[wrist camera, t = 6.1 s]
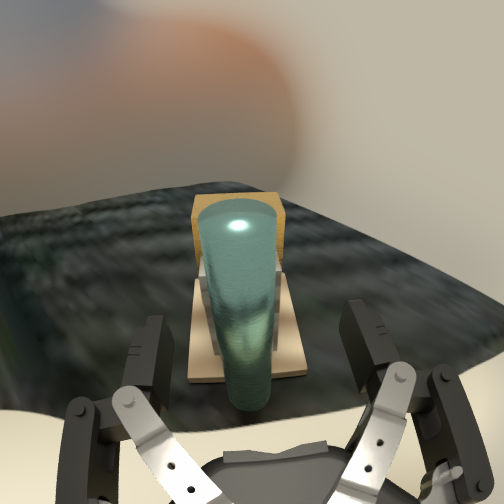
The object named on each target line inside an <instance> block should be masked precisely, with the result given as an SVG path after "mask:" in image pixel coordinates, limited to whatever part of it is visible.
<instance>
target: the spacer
mask: <svg viewBox="0 0 504 504" xmlns="http://www.w3.org/2000/svg"><path fill="white" fill-rule="evenodd" d="M236 198H246V199H254V200H258V201H262V202H264V203H267V204H268V205H270V206H271V207H273V208H274V210H275V211H276V213H277V236H276V251H277V254H278V258H279V262H280V266H281V267H282V255H283V242H284V228H285V211H284V209H283V206H282V203H281V201H280V198H279V195H278V193H277V192H257V193H227V194H206V195H196V196H195V200H194V205H193V210H192V215H191V222H192V231H193V239H194V247H195V254H196V262H197V269H198V276H199V268H200V258H201V256H203V255H202V248H201V241H200V234H199V227H198V216H199V214H200V212H201V211H202V210H203V209H205V208H206V207H207V206H209V205H211V204H213V203H216V202H219V201H223V200H228V199H236ZM199 283H200V281H199ZM200 290H201V286H200ZM201 297H202V292H201ZM202 303H203V306H204V302H203V297H202Z"/></svg>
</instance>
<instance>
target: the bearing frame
mask: <svg viewBox="0 0 504 504" xmlns="http://www.w3.org/2000/svg"><path fill="white" fill-rule="evenodd" d="M199 281H200V283H199ZM200 286H201V290H200ZM201 292H202V297H203V302H204V306H203V303H202V297H201ZM306 374H307V365H306V360H305V356H304V352H303V347H302V343H301V339H300V335H299V331H298V326H297V322H296V318H295V314H294V310H293V306H292V302H291V298H290V293H289V289H288V285H287V281H286V277H285V273H282V270H281V266H280V262H279V258H278V254H277V251H276V274H275V304H274V330H273V353H272V374H271V379H272V378H282V377H290V376H299V375H306ZM188 380H189V382H190V383H213V382H225V377H224V373H223V368H222V363H221V358H220V353H219V347H218V342H217V337H216V332H215V326H214V321H213V315H212V309H211V304H210V298H209V292H208V286H207V280H206V274H205V268H204V261H203V256H201V258H200V268H199V279H195V289H194V299H193V310H192V322H191V335H190V348H189V364H188Z"/></svg>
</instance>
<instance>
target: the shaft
mask: <svg viewBox="0 0 504 504" xmlns="http://www.w3.org/2000/svg"><path fill="white" fill-rule="evenodd" d="M198 227H199V234H200V241H201V248H202V255H203V261H204V268H205V274H206V280H207V286H208V292H209V298H210V304H211V309H212V315H213V321H214V326H215V332H216V337H217V342H218V347H219V353H220V358H221V363H222V368H223V373H224V377H225V382H226V387H227V392H228V396H229V400H230V402H231V403H232V404H233V405H234V406H235V407H236V408H238V409H240V410H243V411H255V410H258V409H260V408H262V407H263V406H265V405H266V404H267V402H268V401H269V398H270V393H271V374H272V353H273V330H274V304H275V274H276V236H277V213H276V211H275V210H274V208H273V207H271V206H270V205H268V204H267V203H264V202H262V201H258V200H254V199H246V198H236V199H228V200H223V201H219V202H216V203H213V204H211V205H209V206H207V207H206V208H205V209H203V210H202V211H201V212H200V214H199V216H198Z"/></svg>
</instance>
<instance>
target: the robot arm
mask: <svg viewBox="0 0 504 504" xmlns="http://www.w3.org/2000/svg"><path fill="white" fill-rule="evenodd" d="M339 332H340V336H341V339H342V342H343V345H344V348H345V351H346V354H347V356H348V359H349V362H350V365H351V368H352V371H353V374H354V378H355V381H356V384H357V387H358V390H359V393H363V392H368V395H369V398H370V399H369V401H368V403H367V405H366V408H365V410H364V412H363V415H362V417H361V419H360V421H359V423H358V425H357V428H356V430H355V432H354V434H353V435H352V437H351V439H350V440H349V442H348V444H347V446H346V447H345V449H343V448H339V447H336V446H329V445H327V442H326V440H325V441H321V442H314V443H308V444H302V445H299V446H297V447H294V448H291V449H289V450H286V451H283V452H281V453H277V454H272V453H264V452H257V451H251V450H245V451H224V452H223V457H219V458H217V459H214V460H212V461H210V462H208V463H206V464H205V465H204V466H202V467H201V468H199V467H198V465H197V464H196V463H195V462H194V461H193V460H192V459H191V457H190V456H189V455H188V454H187V453H186V451H185V450H184V449H183V448H182V446H181V445H180V444H179V443H178V441H177V440H176V439H175V437H174V436H173V435H172V434H171V432H170V431H169V430H168V428H167V427H166V426H165V424H164V423H163V422H162V420H161V419H160V412H161V411H168V403H169V392H170V381H171V371H172V362H173V353H174V340H173V336H172V333H171V330H170V327H169V324H168V321H167V318H166V316H165V315H158V316H148V318H147V323H146V327H145V328H138V329H137V330H136V332H135V333H134V334H133V336H132V339H131V343H130V348H129V352H128V356H127V361H126V365H125V370H124V375H123V379H122V384H121V387H120V389H118V390H117V391H116V392H115V393H114V395H113V396H112V397H110V398H107V399H103V400H98V401H94V402H92V401H91V400H90V399H88V398H86V397H77V398H75V399H73V400H72V401H71V402H70V403H69V405H68V407H67V410H66V416H65V421H64V428H63V433H62V440H61V447H60V454H59V463H58V473H57V485H56V501H55V504H118V481H119V452H120V441H123V440H128V439H132V440H133V441H134V443H135V445H136V449H137V451H138V453H139V454H140V456H141V457H142V459H143V460H144V462H145V463H146V465H147V466H148V468H149V469H150V470H151V471H152V473H153V474H154V476H155V477H156V479H157V480H158V481H159V482H160V484H161V485H162V486H163V488H164V489H165V490H166V492H167V493H168V494H169V495H170V496H171V498H172V499H173V500H172V501H171V502H170V503H169V504H475V503H478V502H480V501H483V500H485V499H486V498H487V497H488V496H489V495H490V494H491V492H492V490H493V487H494V478H493V474H492V470H491V466H490V463H489V459H488V456H487V452H486V449H485V446H484V443H483V439H482V436H481V433H480V431H479V428H478V425H477V422H476V419H475V416H474V414H473V411H472V408H471V406H470V403H469V401H468V398H467V396H466V393H465V391H464V388H463V386H462V384H461V381H460V379H459V376H458V374H457V372H456V370H455V369H454V368H453V367H452V366H450V365H447V364H439V365H437V366H436V367H435V368H434V369H433V371H423V370H414V369H413V367H412V366H410V365H409V364H407V363H405V362H402V361H401V359H400V357H399V354H398V352H397V350H396V348H395V346H394V343H393V341H392V339H391V337H390V335H389V334H388V331H387V329H386V327H385V324H384V322H383V320H382V318H381V316H380V315H379V314H377V313H376V312H375V311H374V310H373V309H370V310H367V308H366V306H365V303H364V301H363V300H362V299H359V300H351V301H346V302H345V304H344V308H343V312H342V315H341V319H340V323H339ZM406 413H411V416H412V420H413V423H414V426H415V430H416V433H417V437H418V440H419V444H420V448H421V452H422V455H423V460H424V464H425V468H426V472H427V473H426V474H425V475H424V476H423V478H422V480H421V487H420V490H421V492H420V495H419V497H418V499H416V498H415V497H414V496H412V495H411V494H409V493H408V492H406V491H405V490H403V489H402V488H400V487H399V486H397V485H396V484H394V483H393V482H391V481H390V480H389V479H387V478H386V475H387V473H388V470H389V468H390V466H391V463H392V461H393V459H394V456H395V453H396V451H397V449H398V445H399V443H400V440H401V438H402V435H403V432H404V429H405V426H406V422H407V420H406V419H405V415H406Z"/></svg>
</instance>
